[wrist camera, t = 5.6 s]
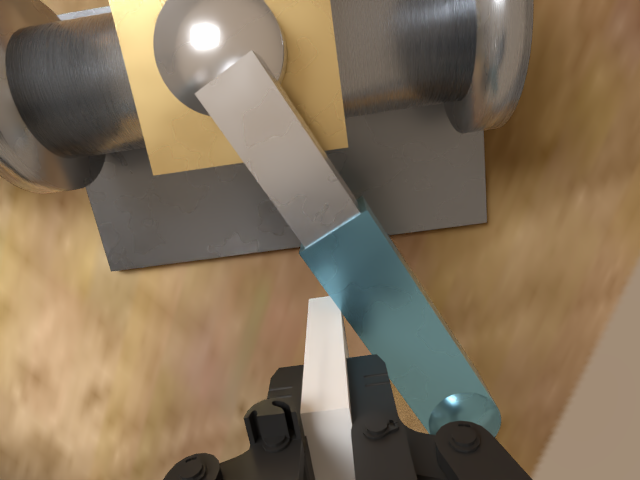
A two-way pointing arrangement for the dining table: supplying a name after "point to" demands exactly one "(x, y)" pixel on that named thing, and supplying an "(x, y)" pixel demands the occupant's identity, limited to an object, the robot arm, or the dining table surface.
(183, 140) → the valve body
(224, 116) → the lever
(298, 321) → the dining table surface
